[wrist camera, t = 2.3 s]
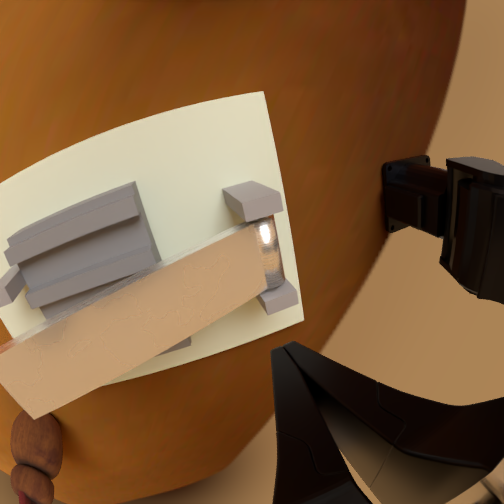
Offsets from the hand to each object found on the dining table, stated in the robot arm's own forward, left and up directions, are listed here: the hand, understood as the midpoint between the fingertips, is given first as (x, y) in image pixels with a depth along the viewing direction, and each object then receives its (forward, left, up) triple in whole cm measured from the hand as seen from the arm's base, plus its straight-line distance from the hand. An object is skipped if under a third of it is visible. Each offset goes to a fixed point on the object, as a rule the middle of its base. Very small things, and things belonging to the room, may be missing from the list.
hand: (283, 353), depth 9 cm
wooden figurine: (+25, +13, -12) cm, 31 cm away
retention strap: (+5, 0, -6) cm, 8 cm away
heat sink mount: (+7, 0, -12) cm, 14 cm away
